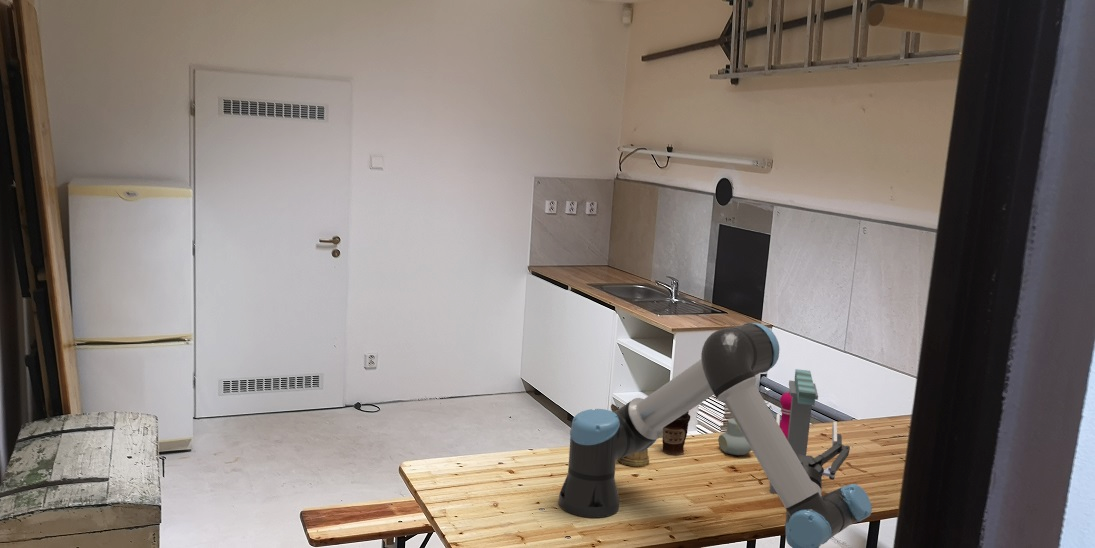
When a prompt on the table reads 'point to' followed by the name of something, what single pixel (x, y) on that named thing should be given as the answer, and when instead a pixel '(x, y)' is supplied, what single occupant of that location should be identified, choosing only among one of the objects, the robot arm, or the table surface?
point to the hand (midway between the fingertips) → (805, 421)
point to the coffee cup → (676, 435)
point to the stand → (798, 424)
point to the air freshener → (733, 440)
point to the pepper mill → (785, 412)
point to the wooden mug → (637, 457)
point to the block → (804, 387)
